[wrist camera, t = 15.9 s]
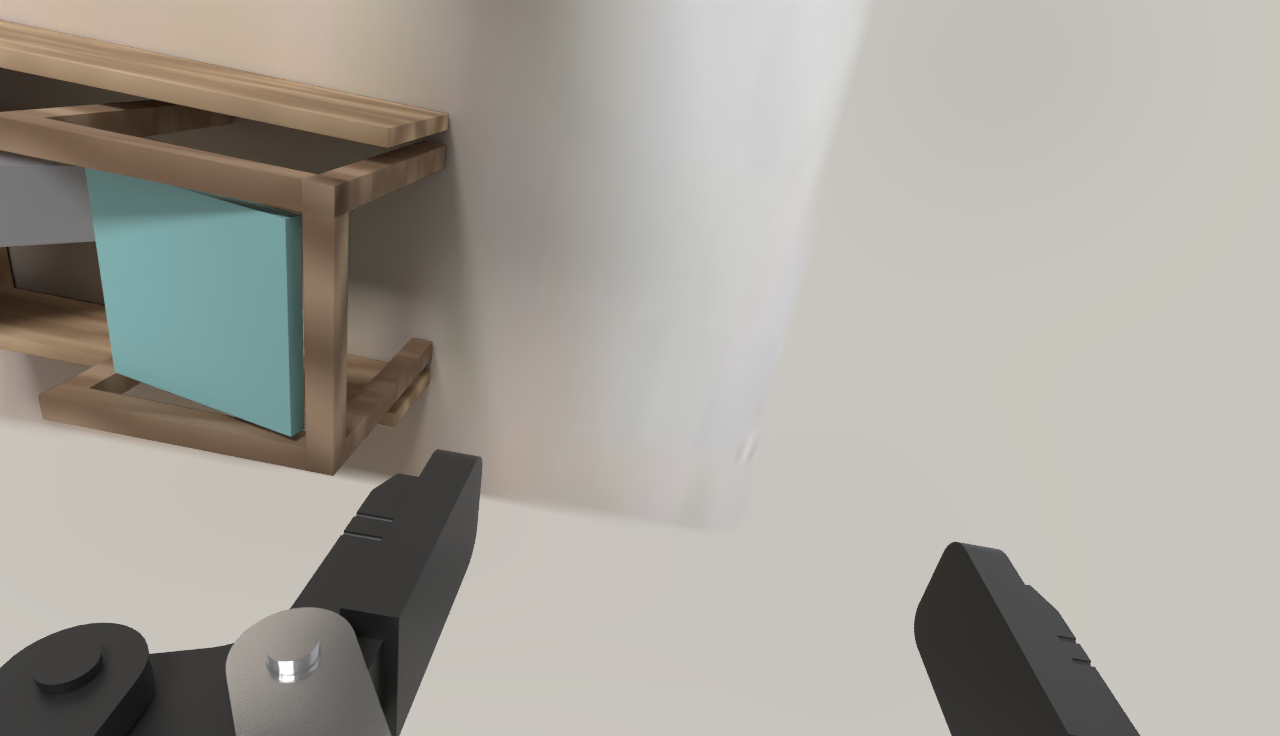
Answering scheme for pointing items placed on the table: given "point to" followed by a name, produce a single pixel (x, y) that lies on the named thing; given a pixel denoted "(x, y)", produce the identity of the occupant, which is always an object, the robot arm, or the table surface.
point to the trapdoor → (203, 296)
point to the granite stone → (43, 202)
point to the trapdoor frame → (205, 97)
